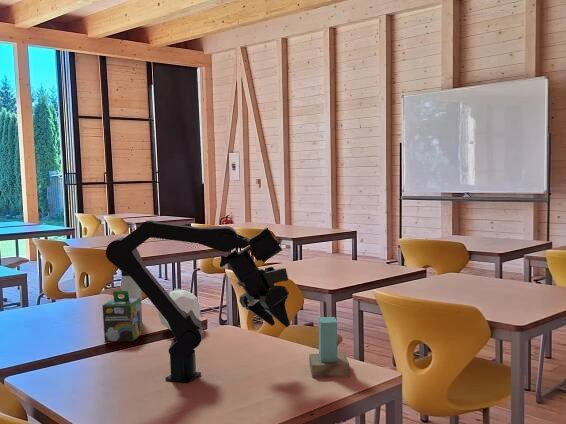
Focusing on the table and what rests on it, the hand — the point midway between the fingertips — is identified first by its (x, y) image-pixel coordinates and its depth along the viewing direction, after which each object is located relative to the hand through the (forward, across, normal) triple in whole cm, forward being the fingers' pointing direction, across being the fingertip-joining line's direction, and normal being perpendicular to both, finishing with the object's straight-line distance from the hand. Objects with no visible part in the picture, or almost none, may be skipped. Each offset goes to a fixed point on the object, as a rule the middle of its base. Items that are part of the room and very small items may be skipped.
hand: (280, 325), depth 145 cm
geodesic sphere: (-4, +54, +12) cm, 55 cm away
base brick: (+17, -2, -3) cm, 17 cm away
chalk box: (-12, +53, +27) cm, 61 cm away
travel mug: (-12, +69, +21) cm, 73 cm away
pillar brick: (+13, -3, -5) cm, 14 cm away
